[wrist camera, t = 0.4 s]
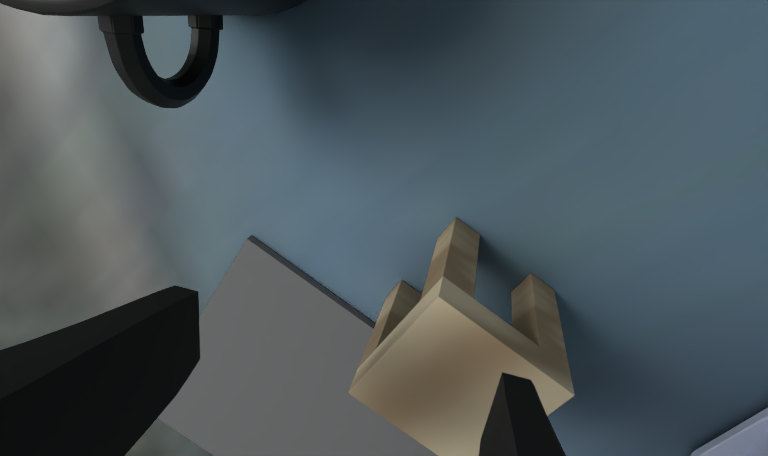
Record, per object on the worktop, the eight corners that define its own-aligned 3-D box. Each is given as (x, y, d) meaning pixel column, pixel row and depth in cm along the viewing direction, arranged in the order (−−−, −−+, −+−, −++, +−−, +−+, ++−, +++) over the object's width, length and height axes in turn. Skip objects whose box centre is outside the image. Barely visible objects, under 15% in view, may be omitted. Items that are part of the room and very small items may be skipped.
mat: (497, 410, 22) (497, 417, 22) (344, 535, 29) (342, 542, 28) (251, 235, 22) (247, 238, 21) (148, 403, 28) (143, 408, 27)
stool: (554, 290, 19) (574, 395, 14) (475, 361, 22) (467, 475, 16) (455, 217, 19) (438, 296, 14) (386, 297, 21) (347, 392, 16)
